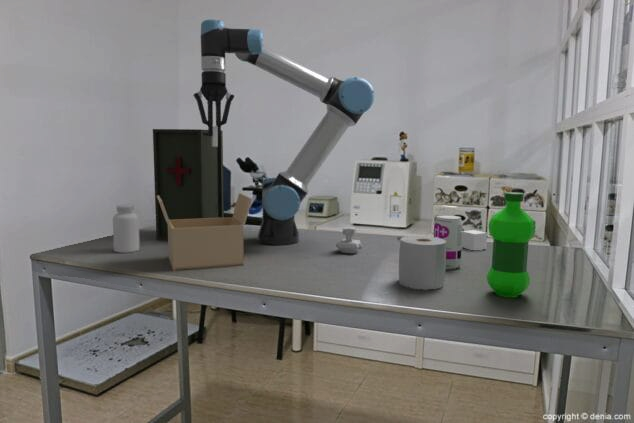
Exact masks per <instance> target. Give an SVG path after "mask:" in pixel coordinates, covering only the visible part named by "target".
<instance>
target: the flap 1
mask: <svg viewBox="0 0 634 423" xmlns="http://www.w3.org/2000/svg"><path fill="white" fill-rule="evenodd" d="M157 198H158V201H159V204H160V206H161V209H162V212H163V214H164V217H165V220H166V222H167V224H168V226H169V228H170V229H171V228H172V226H171V224H170V221H169V218H168V216H167V213H166V210H165V207H164V205H163V202H162V200H161V198H160V197H159V195H158V196H157Z"/></svg>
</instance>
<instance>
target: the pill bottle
mask: <svg viewBox="0 0 634 423" xmlns="http://www.w3.org/2000/svg"><path fill="white" fill-rule="evenodd" d="M116 212H117V213H115V214H114V215H113V217H112V231H113V232H112V233H113V234H112V235H113V236H112V237H113V251H114V252H115V253H120V254H121V253H123V254H124V253H129V254H130V253H135V252H138V251H139V250H140V219H139V218H140V217H139V215H138V214H137V213H135V205H133V204H118V205H117V206H116Z"/></svg>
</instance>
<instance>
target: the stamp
mask: <svg viewBox="0 0 634 423" xmlns="http://www.w3.org/2000/svg"><path fill="white" fill-rule="evenodd" d="M356 233H357V227H354V226H345V227H343V228H342V235H343V236H345V237H346V238H342V239H341V240H340V241H339V242H337V243H336V244H335V247H336V248H338V250H339V251H340V252H341V253H343V254H349V255H350V254H355V253H357V251H358V250H362V249H363V247H364V246H363V244H362V243H361V240H360V239H353V236H354V235H355V234H356Z"/></svg>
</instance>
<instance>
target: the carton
mask: <svg viewBox="0 0 634 423" xmlns="http://www.w3.org/2000/svg"><path fill="white" fill-rule="evenodd" d="M169 221H170V224H171V226H172V228H171V229H170V228H169V226H168V240H167V242H168V243H167V244H168V245H167V246H168V247H167V248H168V249H167V250H168V259H169V262H170V265H171V268H172V270H173V271H175V272H177V271H185V270H201V269H210V268H211V269H214V268H223V267H224V268H225V267H237V266H244V265H245V264H244V225H243V224H241V223H240V222H239V221H237V220H236V219H235V218H233V216H228V217H227V216H226V217H225V216H224V217H223V218H200V219H177V220H169Z"/></svg>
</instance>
